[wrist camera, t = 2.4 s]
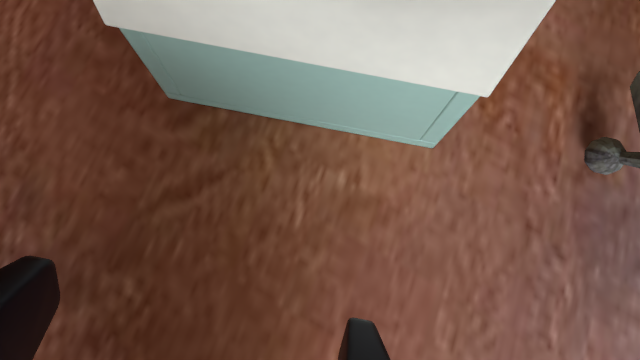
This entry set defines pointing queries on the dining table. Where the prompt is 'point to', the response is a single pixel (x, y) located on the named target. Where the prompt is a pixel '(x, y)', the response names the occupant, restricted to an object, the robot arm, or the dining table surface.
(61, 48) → the dining table surface
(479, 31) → the lid
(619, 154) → the tabletop clock
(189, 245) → the dining table surface
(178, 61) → the keepsake box
